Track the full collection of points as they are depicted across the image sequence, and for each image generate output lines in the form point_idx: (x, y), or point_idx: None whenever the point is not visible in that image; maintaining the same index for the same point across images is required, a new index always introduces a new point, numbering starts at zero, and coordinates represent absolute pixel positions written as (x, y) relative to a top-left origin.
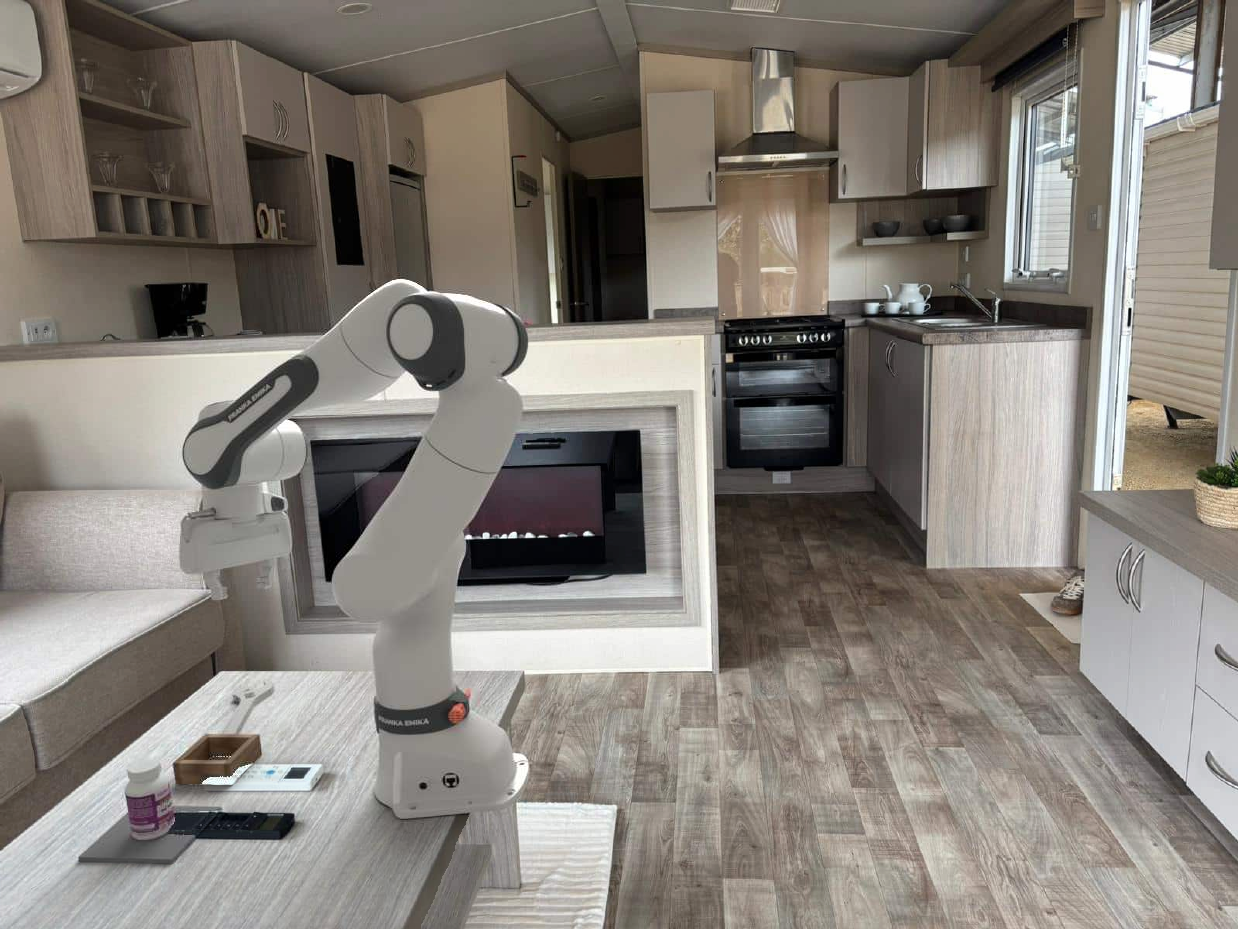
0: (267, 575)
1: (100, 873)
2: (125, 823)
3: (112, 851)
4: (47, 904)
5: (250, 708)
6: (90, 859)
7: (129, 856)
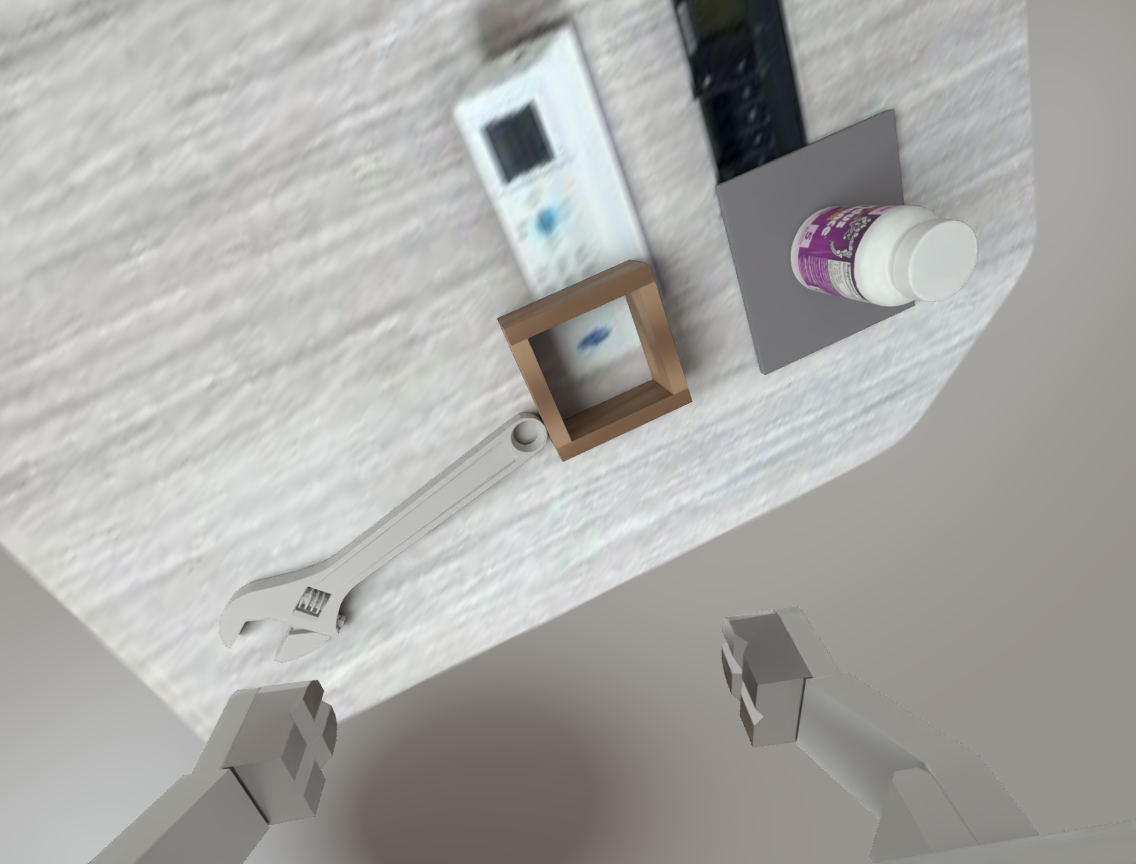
0: (223, 791)
1: None
2: (817, 330)
3: None
4: (1004, 231)
5: (355, 544)
6: None
7: None
